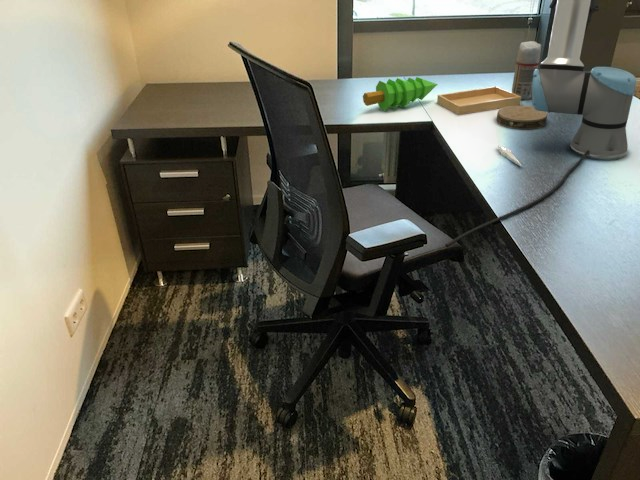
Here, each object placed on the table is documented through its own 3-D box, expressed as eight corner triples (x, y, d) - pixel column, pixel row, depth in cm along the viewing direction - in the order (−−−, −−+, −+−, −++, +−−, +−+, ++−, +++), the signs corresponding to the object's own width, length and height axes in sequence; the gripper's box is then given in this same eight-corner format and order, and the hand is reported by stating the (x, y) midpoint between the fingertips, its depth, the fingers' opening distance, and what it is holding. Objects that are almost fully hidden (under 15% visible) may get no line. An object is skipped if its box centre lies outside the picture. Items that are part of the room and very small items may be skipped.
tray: (495, 94, 216) (496, 86, 214) (520, 104, 203) (521, 96, 202) (437, 103, 210) (437, 95, 208) (458, 115, 197) (459, 106, 195)
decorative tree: (361, 77, 200) (434, 63, 208) (358, 102, 209) (427, 88, 217) (374, 96, 194) (449, 81, 202) (370, 121, 203) (441, 106, 211)
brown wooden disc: (506, 111, 198) (507, 103, 196) (551, 118, 189) (553, 109, 188) (489, 124, 187) (490, 116, 185) (537, 132, 178) (538, 123, 177)
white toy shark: (494, 150, 168) (494, 144, 167) (502, 149, 168) (503, 143, 167) (516, 169, 155) (517, 163, 154) (525, 168, 155) (526, 162, 154)
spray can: (536, 95, 212) (544, 41, 202) (530, 101, 206) (539, 45, 196) (514, 92, 216) (521, 39, 206) (507, 98, 210) (514, 43, 200)
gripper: (622, -33, 182) (602, 35, 190) (564, -32, 203) (548, 29, 211) (606, -37, 179) (587, 33, 187) (549, -35, 200) (534, 27, 207)
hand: (566, 31), depth 199 cm, fingers open, 13 cm apart
